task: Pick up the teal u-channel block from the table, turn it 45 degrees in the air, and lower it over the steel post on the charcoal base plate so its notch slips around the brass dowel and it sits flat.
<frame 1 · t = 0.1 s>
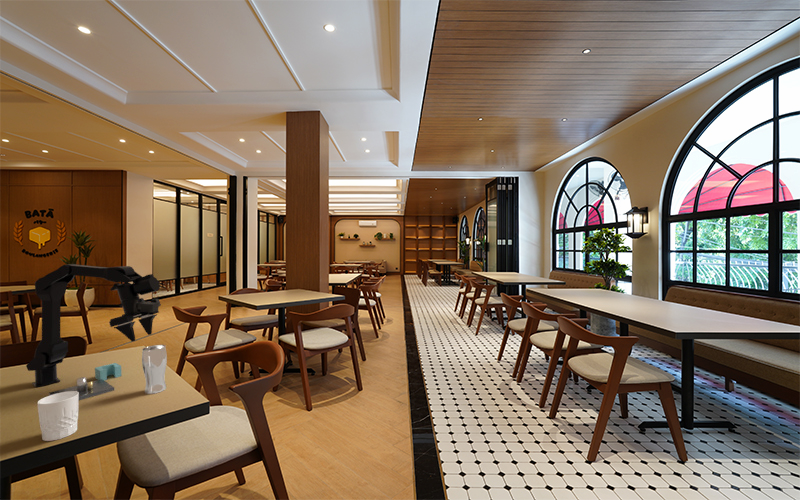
hand: (142, 337, 132), 15 cm above the table, tool pointing down, fingers open, 9 cm apart
base plate: (82, 392, 120), on the table
teal u-channel block: (108, 377, 134), on the table
beer glass: (155, 390, 121), on the table
white cup: (60, 435, 93), on the table
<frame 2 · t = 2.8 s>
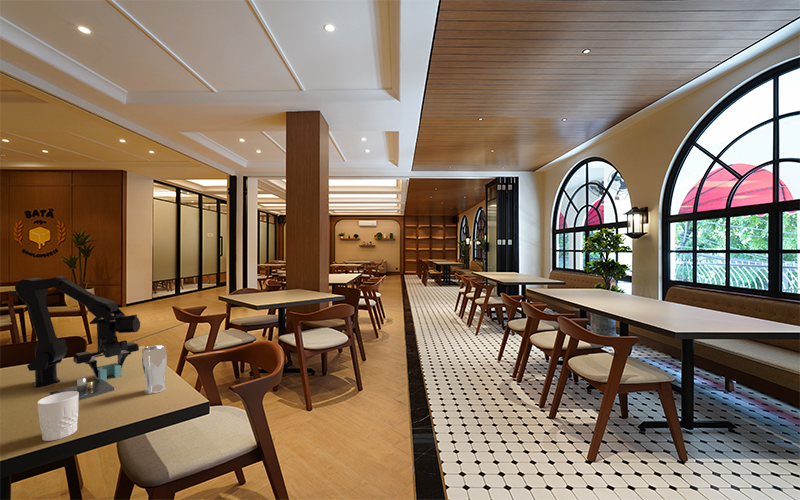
hand: (108, 374, 134), 1 cm above the table, tool pointing down, fingers closed on teal u-channel block, 6 cm apart
teal u-channel block: (108, 377, 134), on the table, touching gripper
everything else where it was.
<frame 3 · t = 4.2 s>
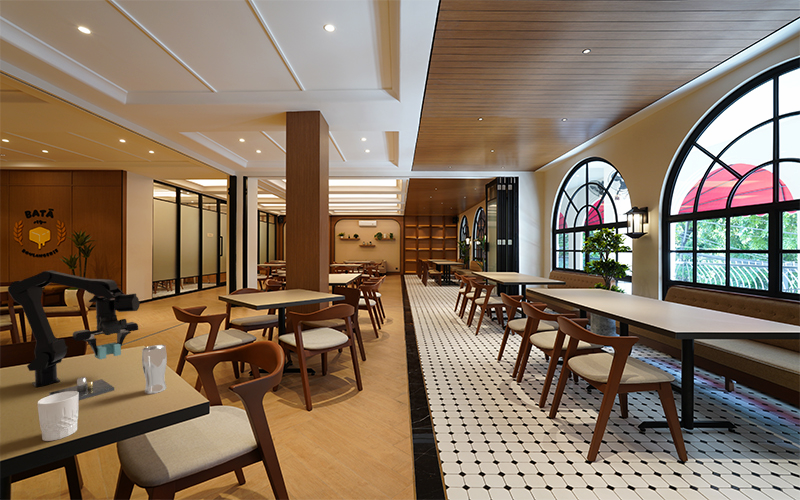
hand: (107, 353, 134), 9 cm above the table, tool pointing down, fingers closed on teal u-channel block, 6 cm apart
teal u-channel block: (107, 355, 134), point 8 cm above the table, touching gripper
everything else where it was.
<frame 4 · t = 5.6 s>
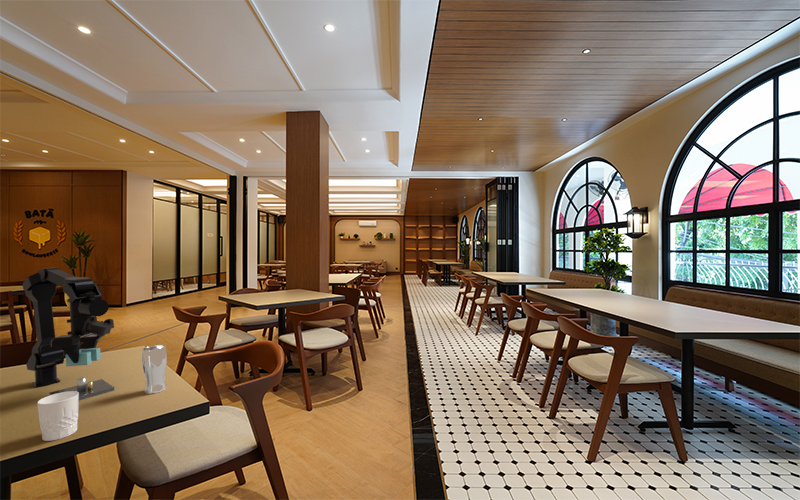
hand: (83, 359, 121), 11 cm above the table, tool pointing down, fingers closed on teal u-channel block, 6 cm apart
teal u-channel block: (83, 362, 121), point 10 cm above the table, touching gripper
everything else where it was.
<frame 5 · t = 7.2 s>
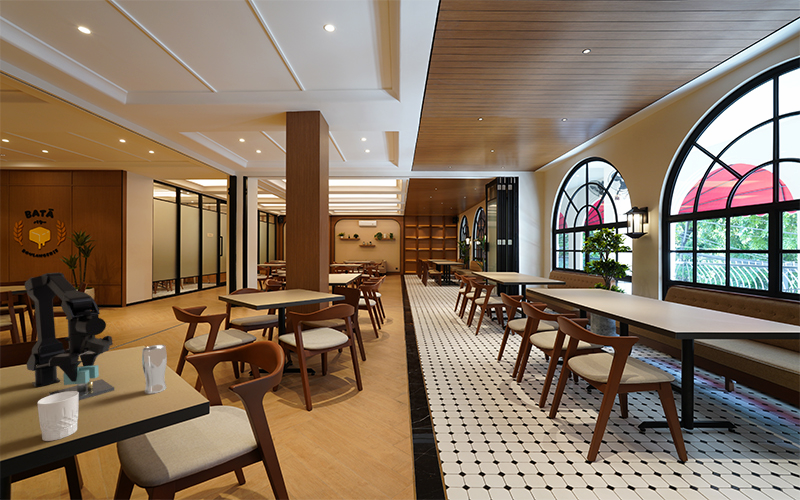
hand: (81, 377, 120), 5 cm above the table, tool pointing down, fingers closed on teal u-channel block, 6 cm apart
teal u-channel block: (81, 380, 120), point 4 cm above the table, touching gripper
everything else where it was.
when the fingers open (3 cm above the table, at t = 8.5 s): teal u-channel block drops 1 cm, resting on base plate.
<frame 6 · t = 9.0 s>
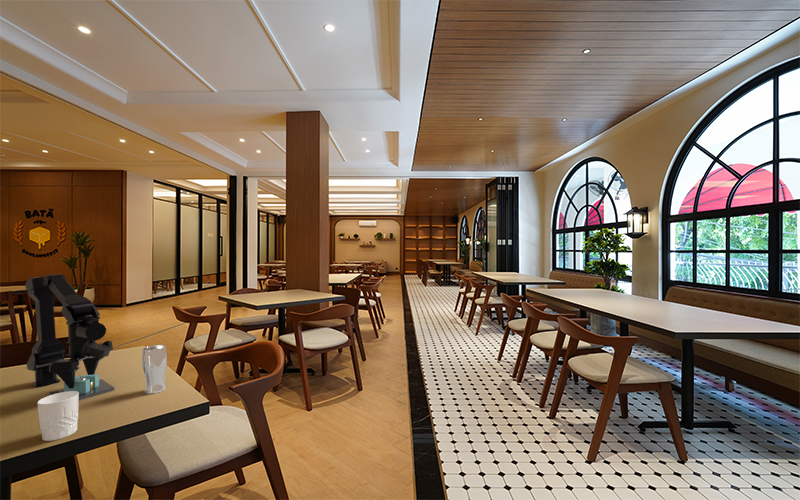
hand: (81, 382, 120), 3 cm above the table, tool pointing down, fingers open, 9 cm apart
teal u-channel block: (82, 389, 120), point 1 cm above the table, touching base plate
everything else where it was.
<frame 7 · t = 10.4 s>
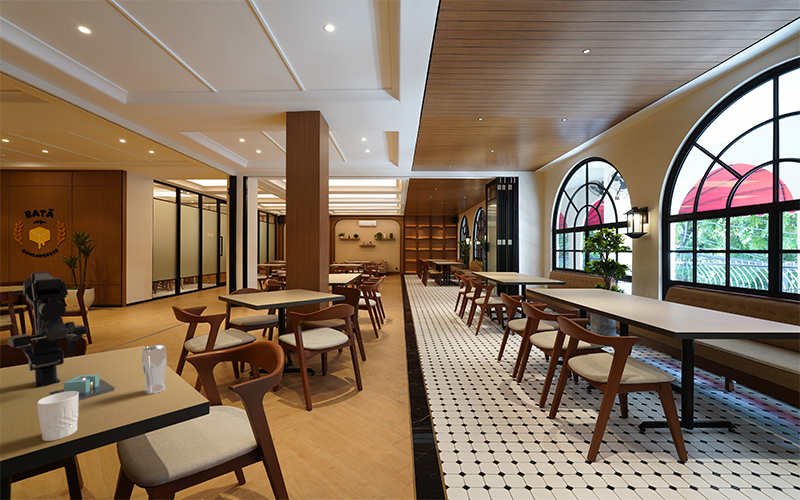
hand: (51, 359, 120), 12 cm above the table, tool pointing down, fingers open, 9 cm apart
nothing on the table moved.
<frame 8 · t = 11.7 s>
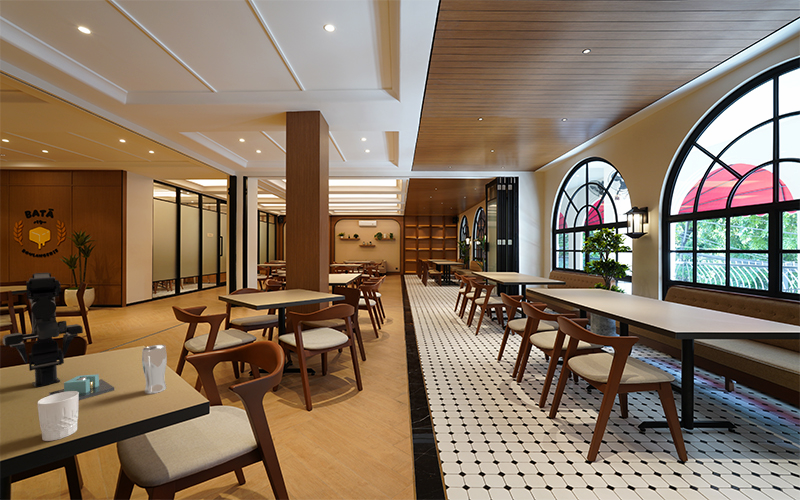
hand: (45, 359, 120), 12 cm above the table, tool pointing down, fingers open, 9 cm apart
nothing on the table moved.
at the end: teal u-channel block 0.0 cm off-centre on the base plate, point 1.0 cm above the base plate's base; teal u-channel block tilted 0°; the gripper is holding nothing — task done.
